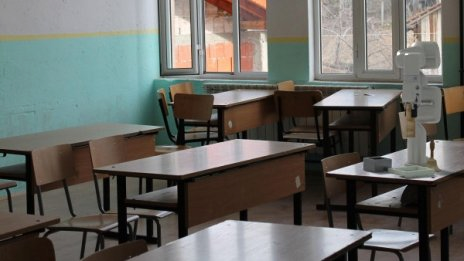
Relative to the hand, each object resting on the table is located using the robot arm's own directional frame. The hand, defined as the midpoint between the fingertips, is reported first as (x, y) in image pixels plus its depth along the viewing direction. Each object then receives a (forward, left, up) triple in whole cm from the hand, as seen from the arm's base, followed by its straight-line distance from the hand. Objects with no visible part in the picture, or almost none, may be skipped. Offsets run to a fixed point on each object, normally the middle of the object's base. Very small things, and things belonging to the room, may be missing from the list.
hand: (411, 116), depth 420 cm
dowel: (0, 0, -10) cm, 10 cm away
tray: (0, 0, -28) cm, 28 cm away
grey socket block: (+10, -14, -28) cm, 33 cm away
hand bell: (-17, -6, -29) cm, 34 cm away
